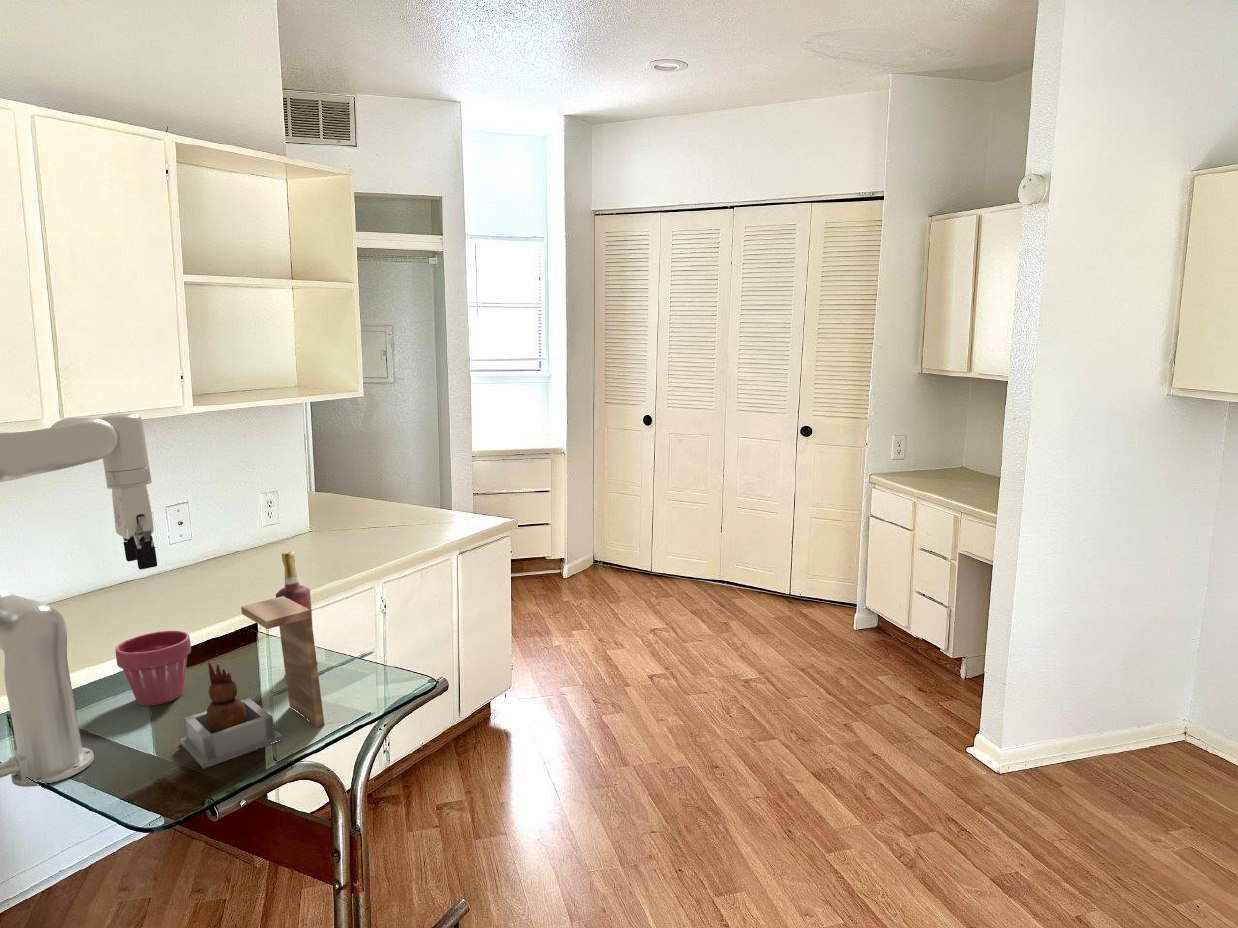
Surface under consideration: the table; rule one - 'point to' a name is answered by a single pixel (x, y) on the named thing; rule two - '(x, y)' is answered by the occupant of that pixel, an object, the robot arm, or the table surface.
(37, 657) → the robot arm
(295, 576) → the liquor
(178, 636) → the plant pot
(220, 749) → the socket
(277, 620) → the wooden l-shaped stand
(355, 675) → the table surface
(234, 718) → the wooden figurine
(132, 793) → the table surface
